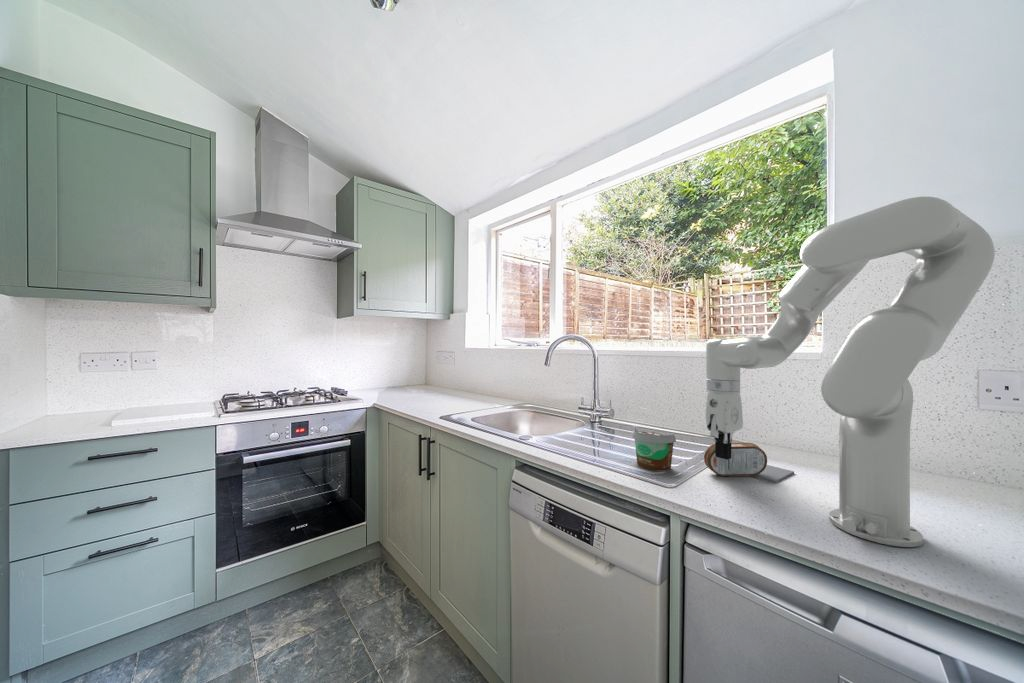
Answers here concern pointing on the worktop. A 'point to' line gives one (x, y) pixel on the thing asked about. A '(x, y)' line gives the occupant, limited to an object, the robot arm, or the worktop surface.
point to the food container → (653, 450)
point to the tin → (737, 460)
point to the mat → (773, 474)
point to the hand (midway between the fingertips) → (723, 457)
